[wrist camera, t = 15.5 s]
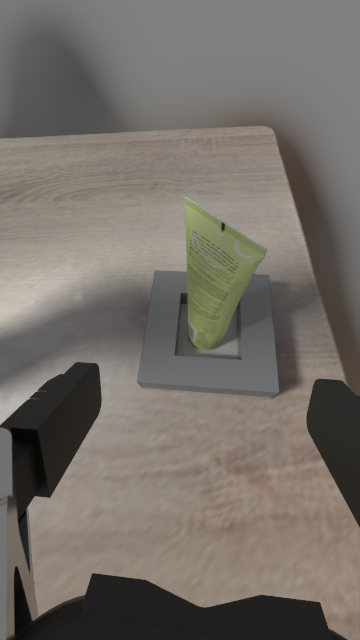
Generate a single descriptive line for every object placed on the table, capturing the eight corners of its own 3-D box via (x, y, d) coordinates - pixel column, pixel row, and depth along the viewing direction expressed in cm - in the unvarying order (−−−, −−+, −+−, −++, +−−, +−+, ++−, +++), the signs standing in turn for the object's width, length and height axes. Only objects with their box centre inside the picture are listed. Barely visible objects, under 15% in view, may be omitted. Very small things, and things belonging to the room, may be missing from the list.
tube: (228, 318, 36) (262, 195, 19) (229, 352, 34) (267, 249, 16) (188, 316, 36) (184, 195, 19) (186, 350, 34) (179, 247, 17)
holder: (143, 389, 33) (137, 381, 29) (158, 286, 40) (155, 270, 37) (269, 399, 32) (279, 392, 28) (262, 291, 39) (269, 275, 35)
